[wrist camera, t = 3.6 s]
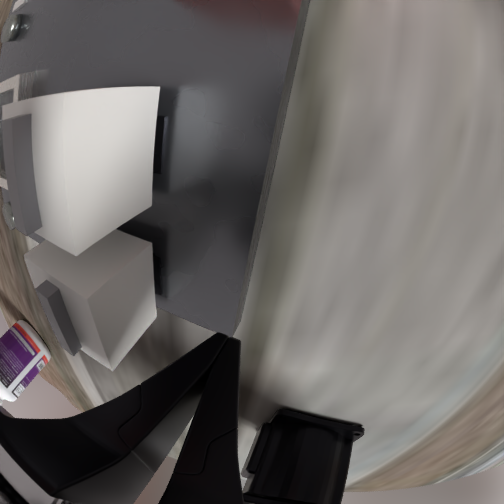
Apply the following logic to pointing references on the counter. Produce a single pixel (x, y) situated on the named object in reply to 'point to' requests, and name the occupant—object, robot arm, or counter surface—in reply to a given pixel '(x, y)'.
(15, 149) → the block
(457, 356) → the counter surface
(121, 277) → the breaker
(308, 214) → the counter surface
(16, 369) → the pill bottle
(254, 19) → the panel
